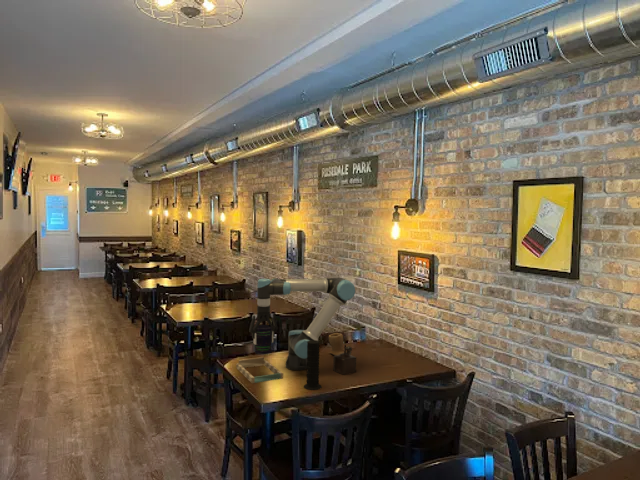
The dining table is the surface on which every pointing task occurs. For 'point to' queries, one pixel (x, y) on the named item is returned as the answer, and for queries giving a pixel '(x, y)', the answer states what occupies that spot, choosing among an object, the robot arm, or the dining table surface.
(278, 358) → the dining table surface
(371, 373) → the dining table surface
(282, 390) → the dining table surface
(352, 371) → the dark boxy piece
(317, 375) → the handle grip
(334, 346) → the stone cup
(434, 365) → the dining table surface
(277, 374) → the shallow rimmed tray
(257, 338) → the storage jar
